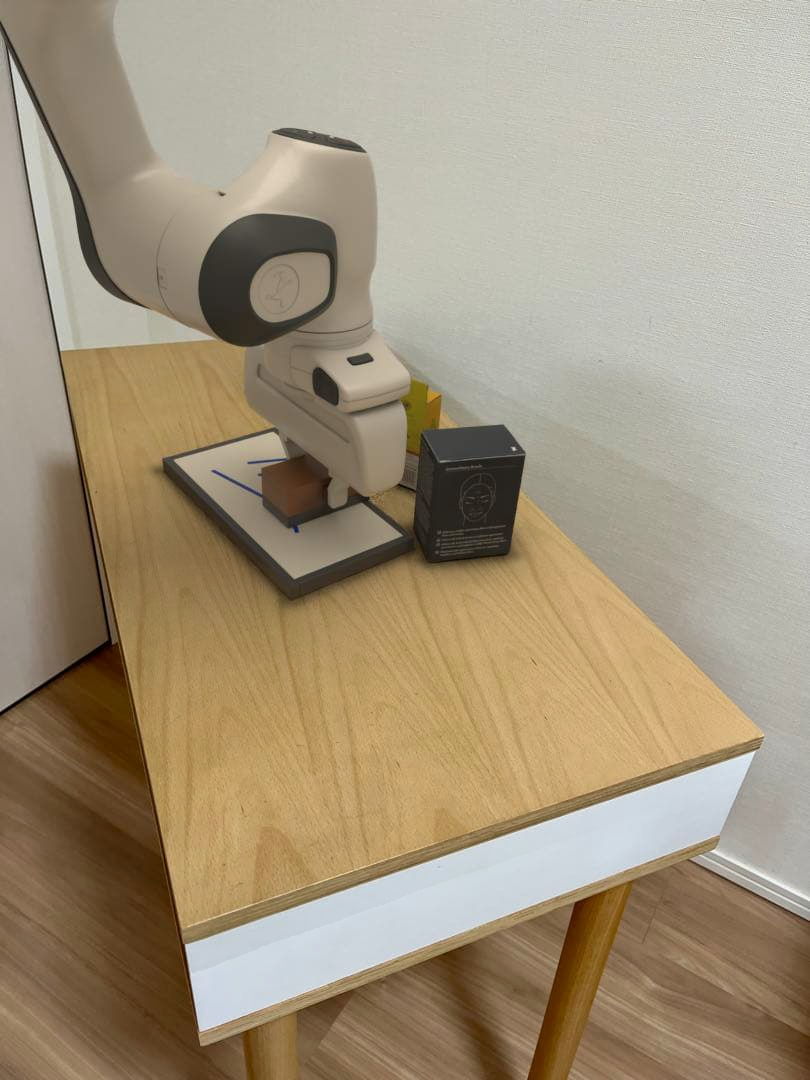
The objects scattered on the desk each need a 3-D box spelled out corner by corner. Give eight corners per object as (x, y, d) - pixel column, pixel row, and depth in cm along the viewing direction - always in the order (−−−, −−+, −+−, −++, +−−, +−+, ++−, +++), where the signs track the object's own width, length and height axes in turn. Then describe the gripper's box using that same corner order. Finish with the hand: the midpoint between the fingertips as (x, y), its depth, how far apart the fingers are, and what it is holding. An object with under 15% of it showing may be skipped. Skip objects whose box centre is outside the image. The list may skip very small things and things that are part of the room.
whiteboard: (291, 600, 67) (291, 586, 66) (163, 470, 82) (161, 457, 81) (414, 549, 74) (415, 536, 73) (276, 437, 89) (276, 426, 88)
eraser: (288, 529, 73) (287, 491, 70) (262, 505, 75) (260, 467, 73) (369, 499, 77) (371, 463, 75) (342, 478, 80) (343, 442, 78)
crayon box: (434, 481, 84) (446, 376, 77) (419, 493, 82) (429, 386, 75) (375, 457, 87) (381, 354, 80) (359, 468, 85) (364, 363, 78)
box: (489, 520, 79) (505, 422, 72) (510, 555, 74) (528, 454, 68) (410, 527, 77) (420, 427, 70) (427, 564, 72) (439, 460, 66)
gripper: (222, 312, 72) (230, 449, 80) (359, 403, 59) (352, 555, 68) (283, 300, 75) (285, 433, 83) (425, 384, 63) (411, 531, 71)
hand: (316, 488), depth 75 cm, fingers closed on eraser, 4 cm apart
